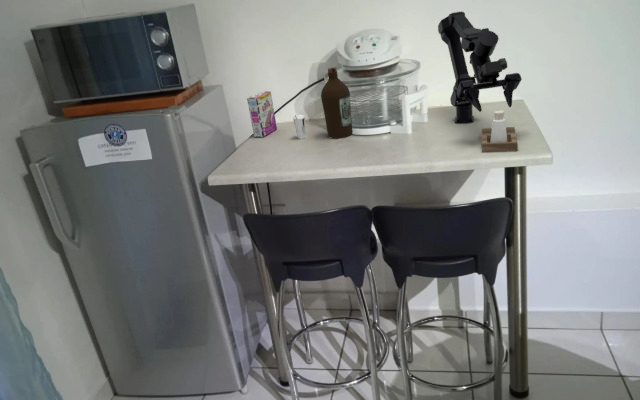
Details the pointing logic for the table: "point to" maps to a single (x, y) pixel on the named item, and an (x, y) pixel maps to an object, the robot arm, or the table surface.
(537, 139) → the table surface
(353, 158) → the table surface
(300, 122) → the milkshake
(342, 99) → the olive oil
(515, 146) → the wooden tray
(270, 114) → the candy bar box
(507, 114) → the table surface
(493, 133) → the pepper shaker
